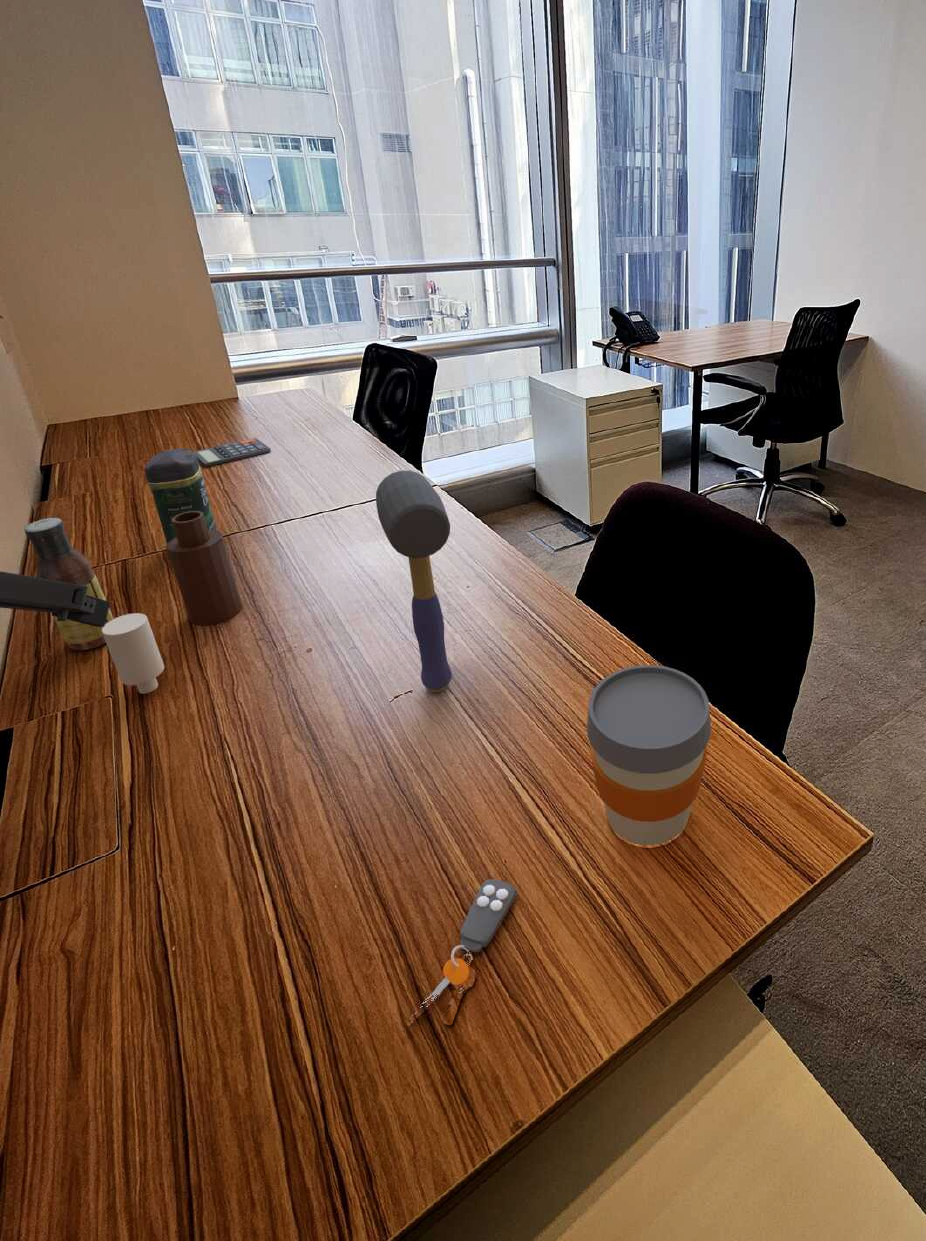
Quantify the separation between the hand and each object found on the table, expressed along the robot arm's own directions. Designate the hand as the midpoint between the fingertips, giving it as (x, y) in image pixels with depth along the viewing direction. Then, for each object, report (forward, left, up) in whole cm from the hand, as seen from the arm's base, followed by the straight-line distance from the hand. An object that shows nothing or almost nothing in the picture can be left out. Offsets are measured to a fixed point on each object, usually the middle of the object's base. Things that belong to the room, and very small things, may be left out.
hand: (39, 616), depth 74 cm
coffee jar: (-15, +52, -19) cm, 57 cm away
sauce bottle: (-15, +22, -19) cm, 33 cm away
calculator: (-32, +102, -19) cm, 108 cm away
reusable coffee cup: (+66, -13, -19) cm, 70 cm away
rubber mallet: (+39, +9, -19) cm, 44 cm away
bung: (0, +11, -19) cm, 22 cm away
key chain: (+49, -27, -19) cm, 59 cm away
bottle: (0, +29, -19) cm, 34 cm away
